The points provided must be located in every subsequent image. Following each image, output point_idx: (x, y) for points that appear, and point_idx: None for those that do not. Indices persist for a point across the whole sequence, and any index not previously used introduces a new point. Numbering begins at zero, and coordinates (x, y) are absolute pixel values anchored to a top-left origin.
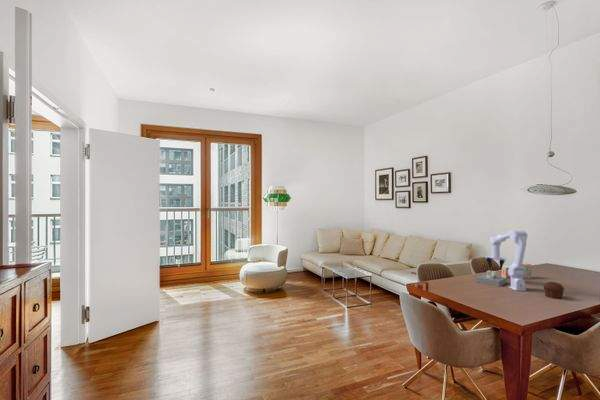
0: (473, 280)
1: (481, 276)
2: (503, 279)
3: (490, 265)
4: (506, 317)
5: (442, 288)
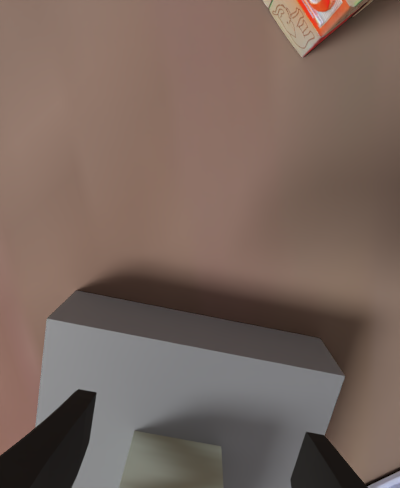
0: (3, 442)
1: None
2: None
3: (68, 482)
4: None
5: None
